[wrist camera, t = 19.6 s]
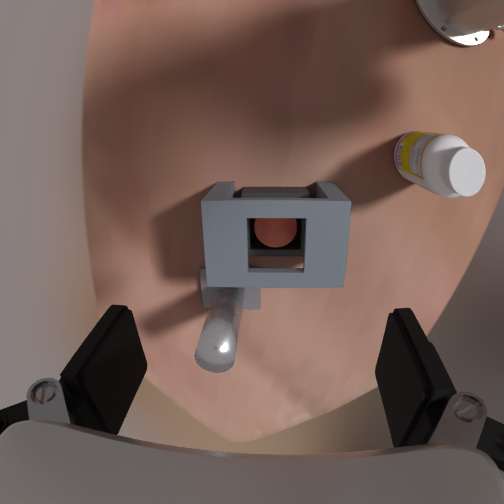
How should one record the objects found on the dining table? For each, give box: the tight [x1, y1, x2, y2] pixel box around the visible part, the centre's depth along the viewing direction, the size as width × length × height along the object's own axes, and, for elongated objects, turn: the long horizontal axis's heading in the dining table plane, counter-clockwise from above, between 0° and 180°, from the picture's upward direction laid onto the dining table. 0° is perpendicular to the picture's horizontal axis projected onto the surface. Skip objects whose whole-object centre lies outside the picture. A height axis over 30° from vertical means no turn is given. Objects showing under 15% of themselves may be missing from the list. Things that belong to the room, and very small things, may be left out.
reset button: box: [254, 218, 297, 247], centre depth 38 cm, size 5×5×3 cm
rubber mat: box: [199, 267, 260, 309], centre depth 44 cm, size 8×6×1 cm
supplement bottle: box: [394, 131, 485, 198], centre depth 30 cm, size 7×7×13 cm
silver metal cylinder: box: [195, 287, 245, 373], centre depth 37 cm, size 4×4×14 cm
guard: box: [201, 182, 351, 288], centre depth 35 cm, size 14×9×10 cm, turn 91°
